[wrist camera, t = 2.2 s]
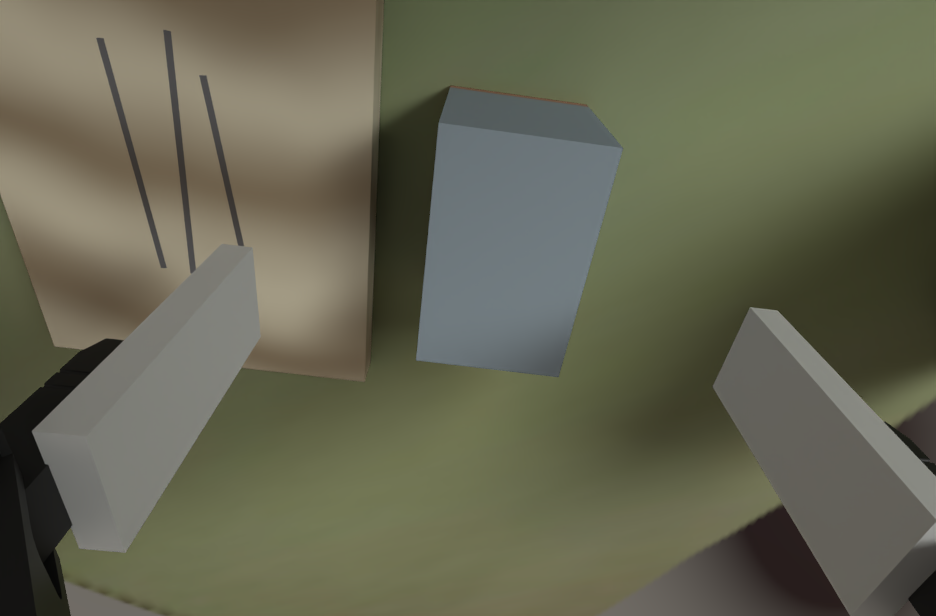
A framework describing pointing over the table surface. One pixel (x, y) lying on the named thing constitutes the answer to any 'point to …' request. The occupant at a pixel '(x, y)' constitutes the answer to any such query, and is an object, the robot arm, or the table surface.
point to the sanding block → (511, 229)
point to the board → (197, 163)
